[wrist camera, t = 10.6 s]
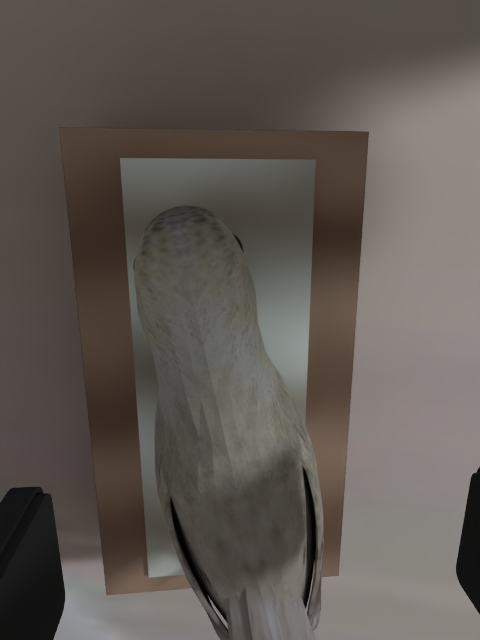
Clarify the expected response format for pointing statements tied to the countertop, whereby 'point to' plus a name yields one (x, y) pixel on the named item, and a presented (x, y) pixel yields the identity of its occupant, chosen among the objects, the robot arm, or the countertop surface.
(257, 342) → the decorative bird
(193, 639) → the countertop surface
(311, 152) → the walnut plinth
